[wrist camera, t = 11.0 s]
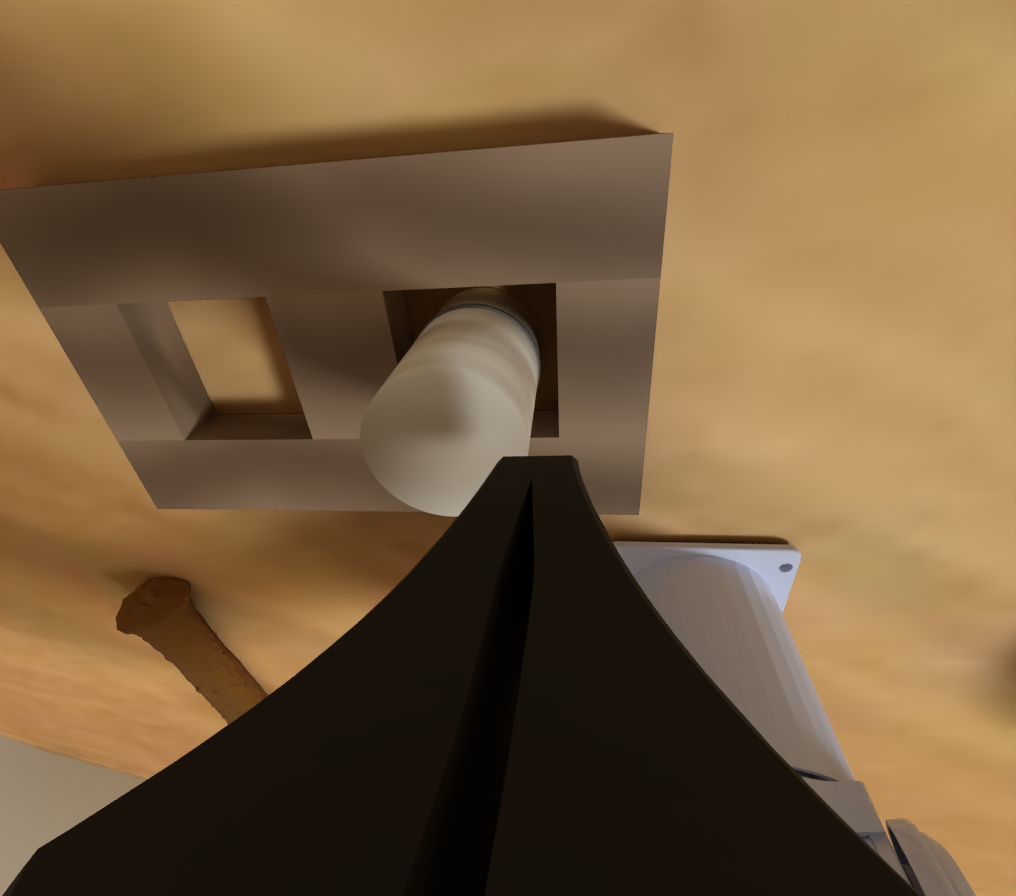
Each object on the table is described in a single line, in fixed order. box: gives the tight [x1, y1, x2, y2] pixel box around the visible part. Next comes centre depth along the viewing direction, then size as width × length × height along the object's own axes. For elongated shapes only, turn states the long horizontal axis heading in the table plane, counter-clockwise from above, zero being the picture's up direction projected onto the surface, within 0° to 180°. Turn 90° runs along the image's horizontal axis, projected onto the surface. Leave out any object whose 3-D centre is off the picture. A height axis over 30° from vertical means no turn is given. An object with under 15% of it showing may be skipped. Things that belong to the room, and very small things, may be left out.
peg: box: [360, 287, 542, 517], centre depth 14 cm, size 4×4×7 cm
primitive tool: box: [116, 577, 268, 725], centre depth 31 cm, size 19×6×4 cm, turn 9°
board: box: [0, 133, 673, 515], centre depth 17 cm, size 12×20×2 cm, turn 94°
